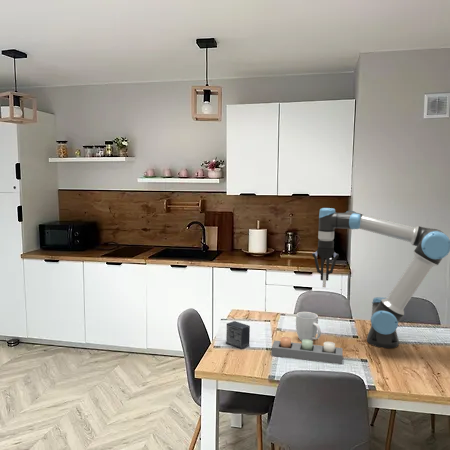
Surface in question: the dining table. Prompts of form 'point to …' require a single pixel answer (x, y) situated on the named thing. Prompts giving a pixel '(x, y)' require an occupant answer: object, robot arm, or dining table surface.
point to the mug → (307, 325)
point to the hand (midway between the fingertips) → (324, 286)
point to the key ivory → (329, 347)
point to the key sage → (307, 344)
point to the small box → (238, 334)
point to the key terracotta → (285, 342)
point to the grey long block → (307, 353)
